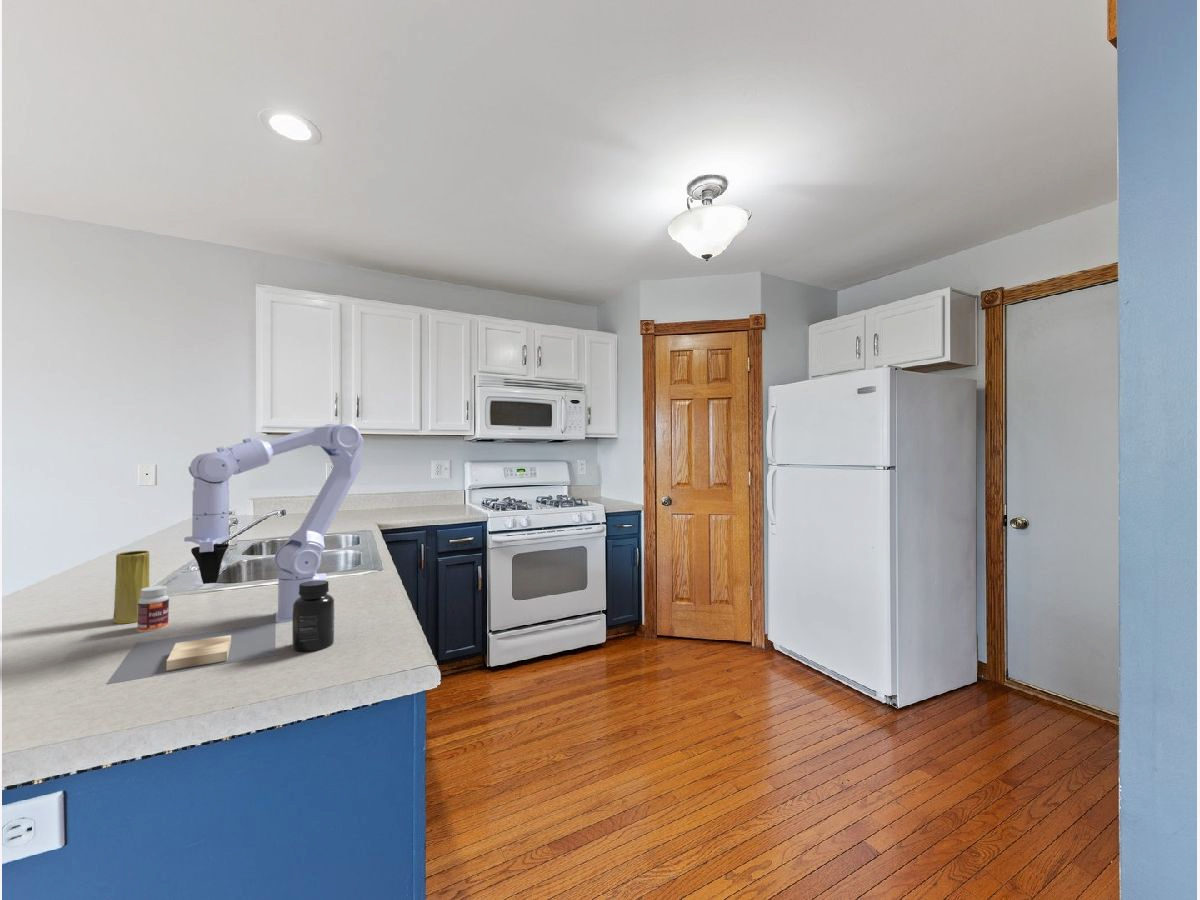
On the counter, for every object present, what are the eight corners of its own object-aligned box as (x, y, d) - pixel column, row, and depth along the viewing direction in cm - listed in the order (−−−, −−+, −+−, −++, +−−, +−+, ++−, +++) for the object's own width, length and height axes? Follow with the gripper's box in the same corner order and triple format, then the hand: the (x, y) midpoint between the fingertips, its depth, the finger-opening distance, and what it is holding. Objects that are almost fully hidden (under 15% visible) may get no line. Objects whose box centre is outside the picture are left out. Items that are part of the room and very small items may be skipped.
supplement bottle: (342, 643, 98) (343, 580, 98) (311, 656, 91) (312, 589, 91) (314, 638, 100) (315, 577, 100) (283, 651, 94) (283, 585, 94)
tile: (231, 635, 96) (227, 651, 88) (231, 644, 96) (226, 661, 88) (175, 643, 91) (166, 660, 84) (175, 653, 91) (166, 671, 84)
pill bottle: (150, 634, 101) (150, 592, 101) (131, 632, 102) (131, 590, 102) (174, 626, 106) (175, 585, 106) (156, 624, 107) (156, 584, 107)
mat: (275, 624, 108) (275, 622, 108) (275, 657, 91) (275, 655, 91) (136, 644, 96) (136, 642, 96) (106, 686, 79) (106, 684, 79)
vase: (128, 615, 113) (129, 550, 113) (158, 614, 113) (159, 550, 113) (104, 624, 107) (105, 555, 107) (136, 624, 107) (136, 555, 107)
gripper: (190, 510, 105) (189, 577, 105) (178, 519, 93) (177, 594, 93) (232, 509, 109) (231, 573, 109) (227, 516, 97) (226, 589, 96)
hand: (210, 582), depth 101 cm, fingers closed
